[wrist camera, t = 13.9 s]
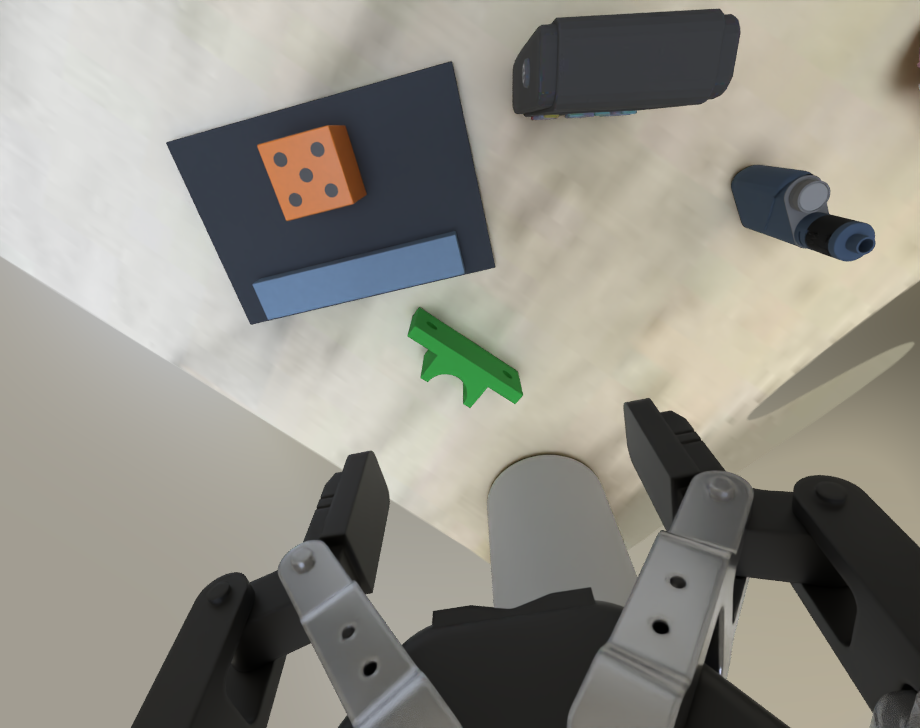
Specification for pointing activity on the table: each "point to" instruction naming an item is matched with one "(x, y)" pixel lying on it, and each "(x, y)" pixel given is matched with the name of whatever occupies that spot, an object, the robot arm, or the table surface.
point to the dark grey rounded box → (625, 63)
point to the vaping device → (798, 212)
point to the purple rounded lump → (919, 67)
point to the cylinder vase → (554, 534)
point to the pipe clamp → (462, 360)
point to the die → (313, 171)
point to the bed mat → (354, 226)
